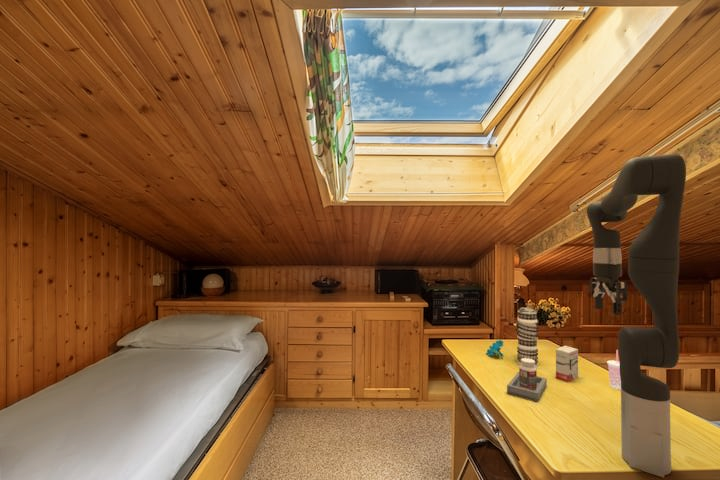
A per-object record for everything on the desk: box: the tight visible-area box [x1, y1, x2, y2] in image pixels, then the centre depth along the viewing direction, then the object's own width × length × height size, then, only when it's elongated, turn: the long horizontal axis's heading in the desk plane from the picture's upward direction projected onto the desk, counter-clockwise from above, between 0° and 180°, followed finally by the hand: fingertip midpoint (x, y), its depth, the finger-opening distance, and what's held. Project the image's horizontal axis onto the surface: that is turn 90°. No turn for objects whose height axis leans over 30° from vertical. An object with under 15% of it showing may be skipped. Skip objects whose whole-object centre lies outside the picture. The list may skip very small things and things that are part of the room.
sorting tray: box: [506, 371, 548, 403], centre depth 121 cm, size 16×10×3 cm, turn 141°
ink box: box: [555, 345, 579, 383], centre depth 132 cm, size 8×5×12 cm, turn 123°
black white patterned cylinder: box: [515, 306, 540, 368], centre depth 148 cm, size 9×9×25 cm
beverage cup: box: [606, 349, 621, 391], centre depth 123 cm, size 6×6×14 cm
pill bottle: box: [518, 358, 538, 390], centre depth 121 cm, size 6×6×10 cm
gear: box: [486, 339, 504, 360], centre depth 158 cm, size 11×6×10 cm
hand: (607, 311), depth 106 cm, fingers open, 8 cm apart
